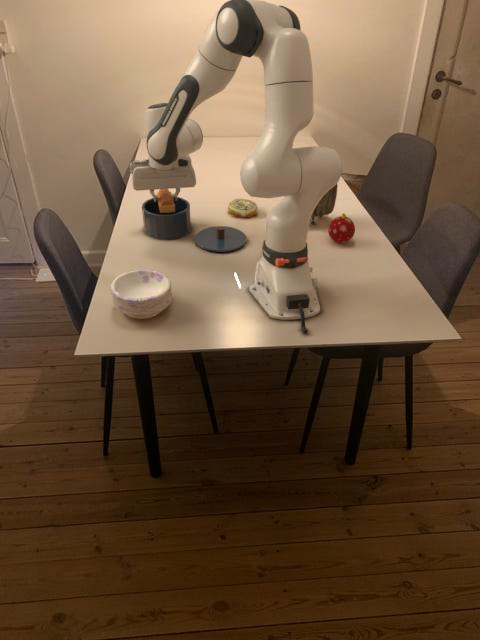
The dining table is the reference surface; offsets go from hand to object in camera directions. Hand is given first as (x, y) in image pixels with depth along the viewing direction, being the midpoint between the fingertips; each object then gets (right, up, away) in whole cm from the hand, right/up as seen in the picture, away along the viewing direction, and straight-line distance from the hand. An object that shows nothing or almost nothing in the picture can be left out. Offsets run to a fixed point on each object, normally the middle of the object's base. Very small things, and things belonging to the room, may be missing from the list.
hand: (165, 200), depth 159 cm
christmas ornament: (+58, -13, +2) cm, 59 cm away
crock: (0, -8, +6) cm, 10 cm away
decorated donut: (+25, 0, +18) cm, 31 cm away
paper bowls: (-1, -36, -31) cm, 48 cm away
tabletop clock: (+49, -5, +12) cm, 51 cm away
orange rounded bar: (0, -1, +1) cm, 2 cm away
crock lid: (+18, -13, 0) cm, 22 cm away
